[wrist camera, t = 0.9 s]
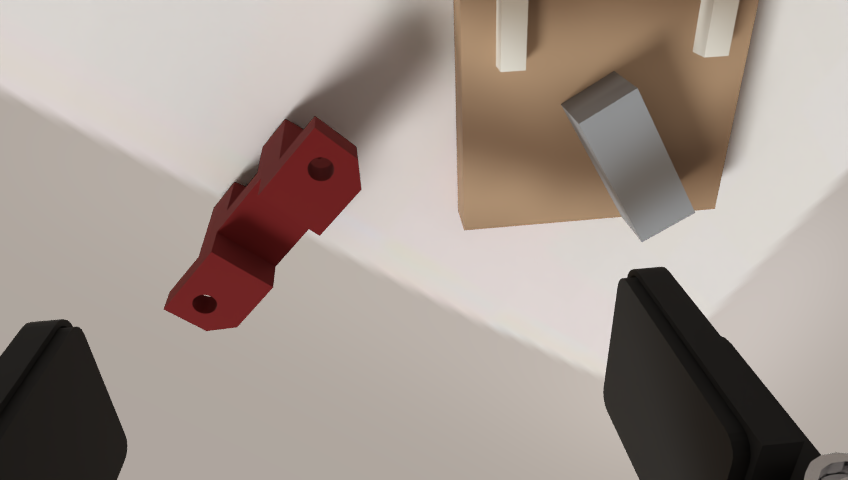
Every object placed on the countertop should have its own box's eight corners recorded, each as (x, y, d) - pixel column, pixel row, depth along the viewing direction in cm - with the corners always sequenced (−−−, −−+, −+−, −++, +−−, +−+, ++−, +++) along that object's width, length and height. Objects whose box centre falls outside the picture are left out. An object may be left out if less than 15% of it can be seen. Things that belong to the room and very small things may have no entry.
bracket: (376, 172, 23) (225, 340, 26) (367, 117, 28) (240, 265, 31) (314, 127, 22) (163, 309, 25) (316, 78, 27) (189, 235, 30)
